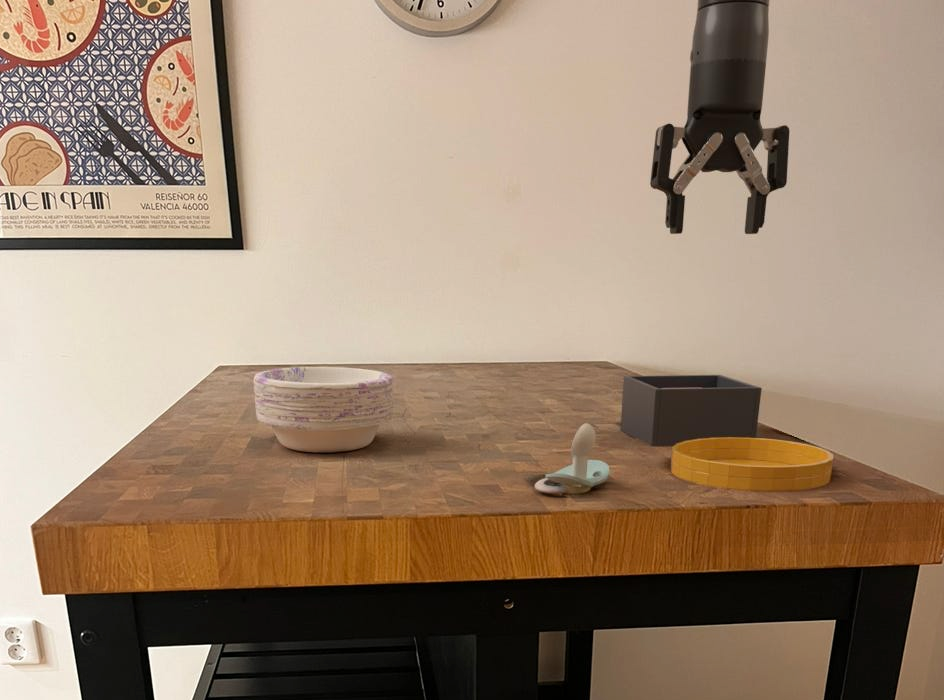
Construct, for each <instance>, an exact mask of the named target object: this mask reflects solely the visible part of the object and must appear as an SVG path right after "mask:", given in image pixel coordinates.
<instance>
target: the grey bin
mask: <svg viewBox="0 0 944 700" xmlns="http://www.w3.org/2000/svg"><path fill="white" fill-rule="evenodd" d="M662 388H665V389H662ZM761 397H762V387H761V386H758V385H755V384H752V383H751V384H750V383H748V382H744V381H741V380H738V379H735V378H731V377H729V376H725V375H721V374H684V375H683V374H677V375H673V374H672V375H669V374H668V375H624V376H623V384H622V400H621V416H620V431H621V432H623V433H624V434H626V435H627V436H629V437H631V438H632V439H635V440H636V439H638V440H639V441H641V442H643V443H644V444H646V445H648V446H650V447H651V448H652V447H656V448H657V447H673V446H674V445H675V444H677V443H680V442H683V441H687V440H693V439H701V438H714V437H746V438H757V431H758V422H759V415H760V407H761V406H760V405H761V399H762V398H761Z"/></svg>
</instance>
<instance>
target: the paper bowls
mask: <svg viewBox="0 0 944 700" xmlns="http://www.w3.org/2000/svg"><path fill="white" fill-rule="evenodd" d="M252 383H253V391H254V392H253V393H254V403H255V404H254V405H255V416H256V419H257V421H258V422H259V423H261V424H265V425H267V426H269V427H271V428H272V430H273V432H274V434H275V436H276V438H277V440H278V442H279V444H281V445H282V446H283V447H286V448H287V449H290V450H293V451H298V452H306V453H322V454H323V453H324V454H325V453H326V454H327V453H342V452H351V451H355V450H359V449H362V448H366V447H367V446H368V445H370V444H371V443H372V442H373V441H374V439H375V436H376V434H377V432H378V429H379V426H380V425H381V424H385V423H389V422H390V421H391V420H392V419H393V417H394V416H393V414H394V388H393V387H394V385H393V383H394V379H393V376H392V375H390V374H389V373H386V372H383V371H379V370H373V369H367V368H357V367H356V368H354V367H341V366H340V367H339V366H299V367H298V366H296V367H284V368H275V369H268V370H265V371H260V372H258V373H256V374H255V375H254V376H253V382H252Z"/></svg>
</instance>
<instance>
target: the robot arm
mask: <svg viewBox="0 0 944 700" xmlns="http://www.w3.org/2000/svg"><path fill="white" fill-rule="evenodd" d="M696 7H697V8H696V17H695V18H696V19H695V24H694V28H693V35H692V42H691V50H690V55H689V60H690V61H689V62H690V67H689V68H690V69H689V81H688V82H689V84H688V98H687V100H688V101H687V113H686V114H687V115H686V116H687V117H686V121H685V124H684V127H682V126H674V124H672V123H666V124H663V125H661V126H659V127H657V129H656V131H655V137H654V145H653V155H652V163H651V164H652V165H651V173H650V181H649V185H650V187H651V188H652V189H654V190H658V191H660V192H663V193H664V194H665V196H666V206H665V207H666V208H665V222H664V223H665V227H666V229H669V234H670V235H681V234H683V230H684V220H685V219H684V216H685V203H686V195H683V193H684V191H685V190H686V189H687V188H688V186H689V184H690V183H691V182H692V180H693V179H694V178H696V176H697V175H698V174H699V173H700V172H701V173H711V172H715V171H718V172H721V173H732V172H733V173H734V172H736V174H737V175H738V177H739V178H740V179H741V180H742V181H743V182H744V184H745V186H746V188H747V189H748V192H749V193H750V196H748V197H747V201H746V212H745V222H744V234H745V235H757V234H758V233H759V230H760V229H762V228H763V226H764V224H765V220H766V219H765V217H766V211H767V210H766V208H767V199H768V196H769V195H770V193H772V192H774V191H776V190H779V189H783V188H785V187H786V185H787V183H788V167H789V166H788V164H789V150H790V149H789V148H790V147H789V146H790V128H789V126H788V125H786V124H785V125H779V126H776V127H768V128H767V127H765V128H763V126H762V123H761V122H762V121H761V114H762V110H763V100H764V91H765V90H764V89H765V80H766V79H765V78H766V69H767V60H768V59H767V57H768V46H769V36H770V25H769V23H770V22H769V21H770V19H769V10H770V8H769V7H770V0H697V6H696ZM680 140H681V141H682V143H683V145H684V147H685V148H686V151H687V153H688V155H687V156H686V158H685V159H684V161H683V162H682V163H681V164H680V166H679V167H678V169H677V171H676V173H675V175H674V176H673V178H671V177H670V171H671V164H672V155H673V150H674V149H676V148H677V147H678V145H679V141H680ZM761 142H763V147H764V149H765V151H767V160H766V161H767V164H766V176H765V174H764V172H763V167H762V165H761V163H760V161H759V160H758V158H757V155H756V154H755V152H754V151H755V150H756V148H757V147H758V146H759V144H760V143H761Z"/></svg>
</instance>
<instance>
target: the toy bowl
mask: <svg viewBox="0 0 944 700" xmlns="http://www.w3.org/2000/svg"><path fill="white" fill-rule="evenodd" d="M671 447H672V450H671V459H670V472H671V474H672V475H674V476H675V477H677V478H678V479H681V480H683V481H686V482H690V483H693V484H697V485H700V486H701V485H702V486H707V487H712V488H719V489H726V490H735V491H746V492H795V491H805V490H812V489H817V488H820V487H823V486H826V485H827V484H829V483H830V481H831V479H832V472H833V464H834V458H835V455H834V454H833V453H832V452H831V451H829V450H827V449H824V448H822V447H820V446H816V445H812V444H808V443H802V442H796V441H791V440H785V439H783V440H782V439H776V438H775V439H773V438H763V437H762V438H761V437H756V438H746V437H714V438H701V439H693V440H687V441H683V442H680V443H677V444H675V445H674V446H671Z"/></svg>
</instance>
